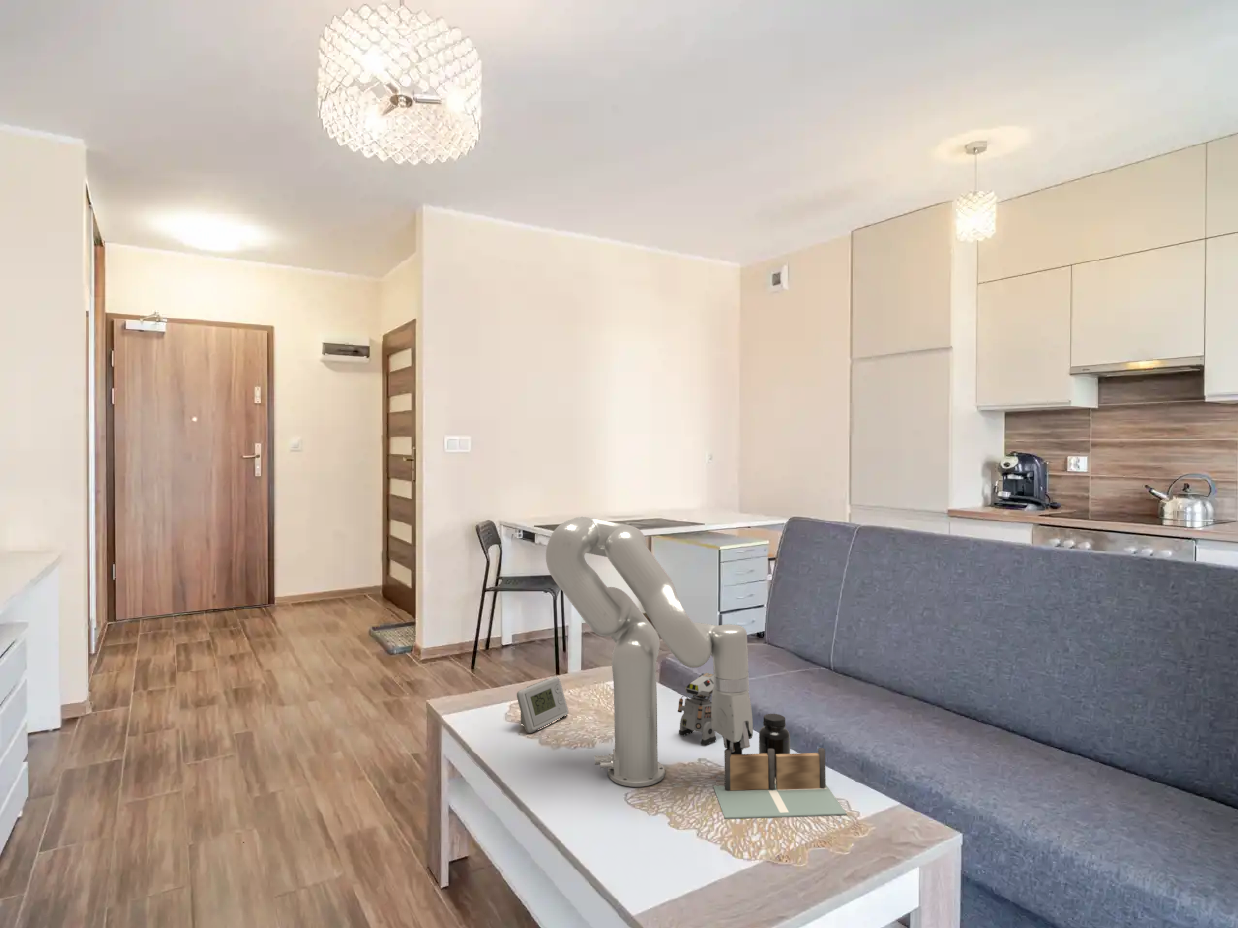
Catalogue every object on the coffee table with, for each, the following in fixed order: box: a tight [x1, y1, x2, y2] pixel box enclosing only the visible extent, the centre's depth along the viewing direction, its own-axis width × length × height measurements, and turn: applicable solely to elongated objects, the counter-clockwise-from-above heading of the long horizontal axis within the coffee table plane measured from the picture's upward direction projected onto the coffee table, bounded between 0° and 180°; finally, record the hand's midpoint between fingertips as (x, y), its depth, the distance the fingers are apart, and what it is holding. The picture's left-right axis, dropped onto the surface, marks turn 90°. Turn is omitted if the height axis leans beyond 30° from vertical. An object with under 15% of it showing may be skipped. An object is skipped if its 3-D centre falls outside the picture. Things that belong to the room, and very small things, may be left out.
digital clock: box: [516, 676, 569, 734], centre depth 184 cm, size 16×9×11 cm, turn 133°
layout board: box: [713, 783, 848, 820], centre depth 141 cm, size 24×13×1 cm, turn 92°
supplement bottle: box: [758, 713, 791, 777], centre depth 155 cm, size 7×7×12 cm
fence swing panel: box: [723, 749, 776, 791], centre depth 145 cm, size 11×1×8 cm, turn 92°
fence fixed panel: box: [775, 747, 827, 790], centre depth 146 cm, size 10×1×8 cm, turn 92°
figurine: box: [677, 672, 717, 746], centre depth 174 cm, size 9×12×15 cm
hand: (734, 767), depth 150 cm, fingers closed
